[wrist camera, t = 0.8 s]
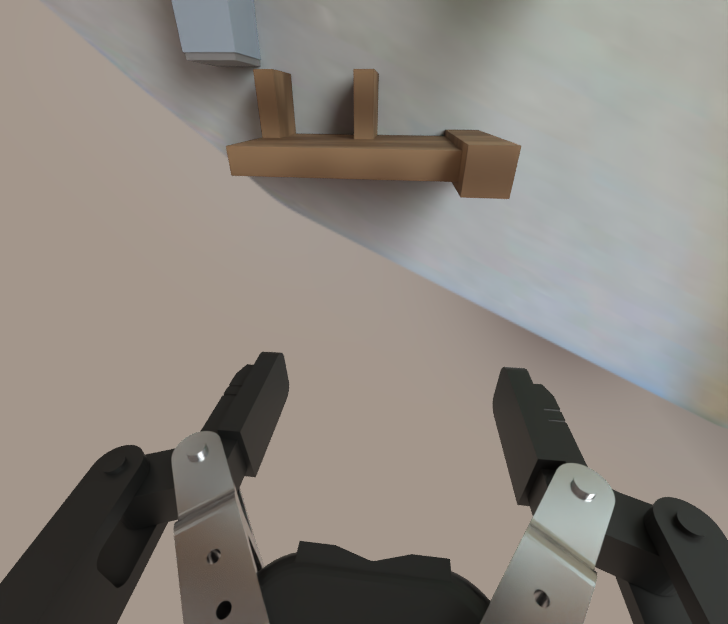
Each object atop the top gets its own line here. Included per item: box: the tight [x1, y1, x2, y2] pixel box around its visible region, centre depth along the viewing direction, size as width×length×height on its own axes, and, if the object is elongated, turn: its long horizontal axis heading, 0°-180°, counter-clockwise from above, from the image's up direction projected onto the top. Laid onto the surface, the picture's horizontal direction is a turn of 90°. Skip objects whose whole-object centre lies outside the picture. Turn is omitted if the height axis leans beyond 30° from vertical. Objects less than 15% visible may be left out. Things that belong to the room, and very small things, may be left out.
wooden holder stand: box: [226, 69, 521, 199], centre depth 24 cm, size 7×18×13 cm, turn 89°
